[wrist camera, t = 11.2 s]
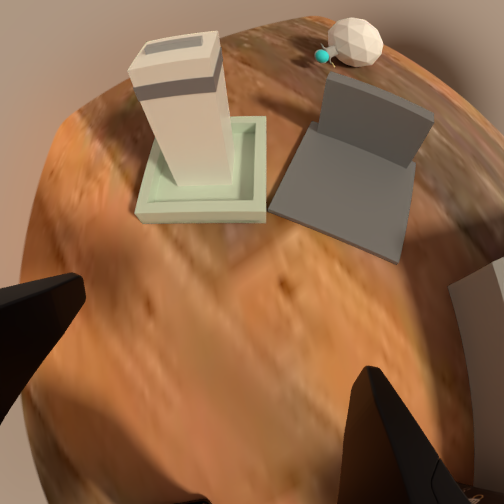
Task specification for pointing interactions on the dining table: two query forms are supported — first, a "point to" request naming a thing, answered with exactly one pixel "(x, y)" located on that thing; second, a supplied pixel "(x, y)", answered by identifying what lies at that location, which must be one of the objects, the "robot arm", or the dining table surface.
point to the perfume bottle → (352, 43)
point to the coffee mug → (481, 495)
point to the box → (484, 366)
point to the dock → (356, 167)
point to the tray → (210, 196)
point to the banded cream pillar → (187, 106)
